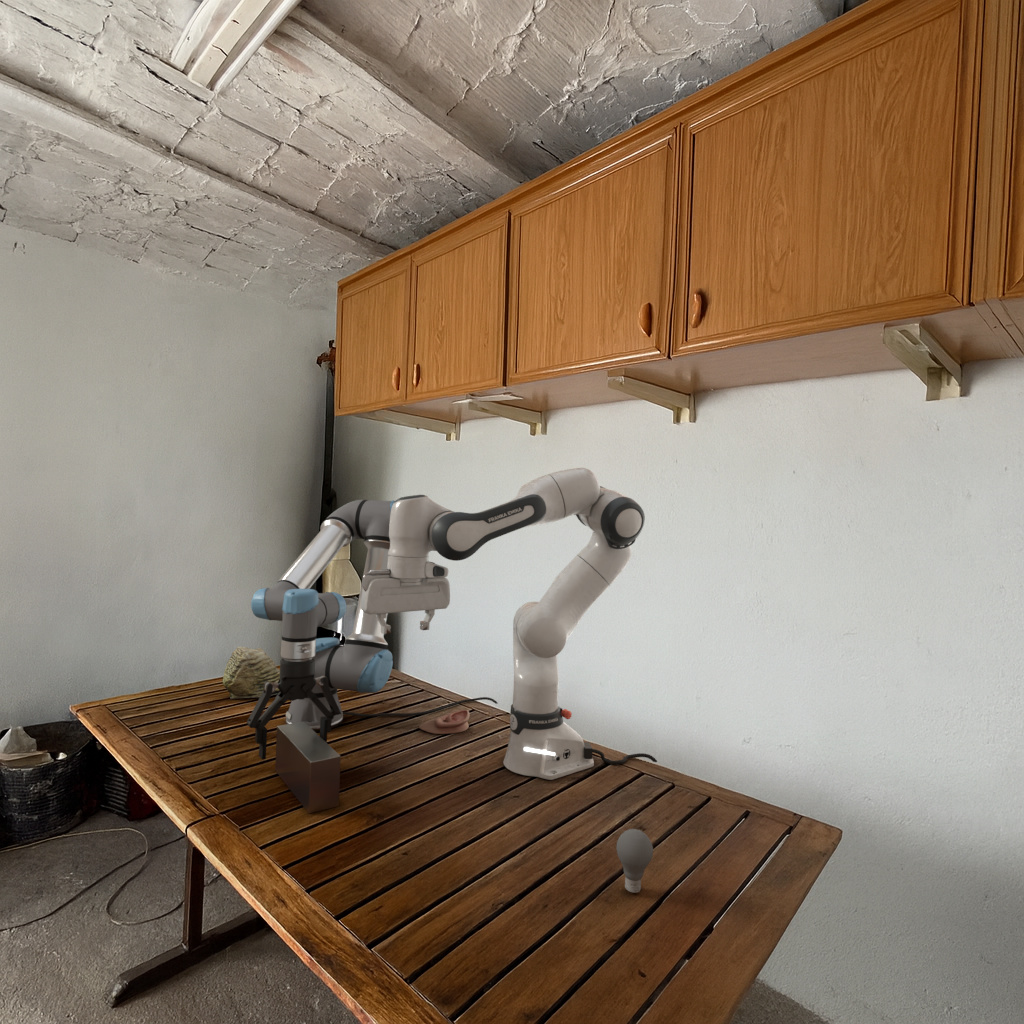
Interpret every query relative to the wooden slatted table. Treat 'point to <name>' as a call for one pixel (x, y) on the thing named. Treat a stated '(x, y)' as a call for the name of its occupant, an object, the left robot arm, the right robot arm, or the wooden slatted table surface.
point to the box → (308, 766)
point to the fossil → (249, 673)
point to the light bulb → (634, 857)
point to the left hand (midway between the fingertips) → (293, 751)
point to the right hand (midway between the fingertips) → (405, 631)
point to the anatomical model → (447, 723)
